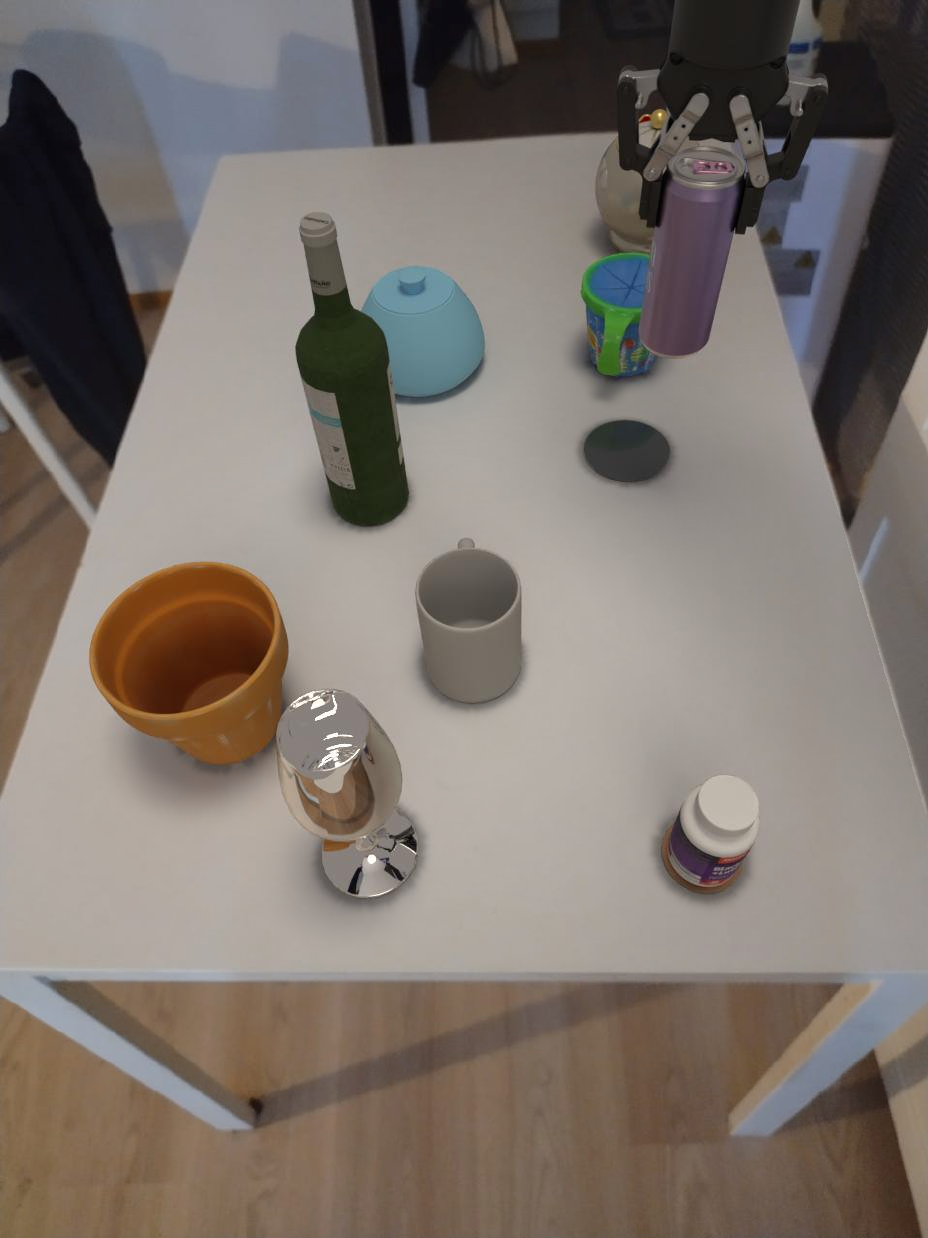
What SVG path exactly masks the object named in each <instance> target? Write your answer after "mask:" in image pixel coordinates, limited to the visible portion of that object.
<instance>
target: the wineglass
mask: <svg viewBox="0 0 928 1238" xmlns="http://www.w3.org/2000/svg"><path fill="white" fill-rule="evenodd" d="M275 737H276V762H277V763H276V765H277V776H278V782H279V786H280V791H281V794H282V797H283V799H284V803H285V805H286V807H287V809H288V812H290V815H291V816H292V817H293V818H294V820H295V821H297V823H298V824H299V825H300V826H301V828H303V829H304V830H305V831H307V832H308V833H309V834H310V835H313V836H315V837H317V838H319V839H322V840H323V841H322V846H321V863H322V867H323V871H324V872H325V875H326V876H327V878H328V880H329V881H330V882H331V884H333V885H334V887H335V888H336V889H338V890H339V891H341V892H342V893H344V894H346V895H348V896H350V897H354V898H360V899H372V898H377V897H382V896H384V895H386V894H389V893H391V892H393V891H395V890H396V889H398V888H399V887H400V886H401V885H402V884H403V883H405V882H406V880H407V879H408V878H409V876H410V875H411V874H412V872H413V871H414V868H415V866H416V864H417V860H418V857H419V847H420V846H419V838H418V833H417V831H416V828H415V826H414V825H413V823H412V821H411V819H410V818H409V817H408V816H407V815H406V814H405V813H404V812H402V811H401V810H400V809H398V808H396V807H397V805H398V804H399V802H400V798H401V794H402V792H403V791H402V790H403V771H402V765H401V761H400V758H399V756H398V753H397V750H396V747H395V745H394V744H393V742H392V741H391V738H390V737H389V735H388V734H387V733H386V731H385V729H384V728H383V727H382V725H381V724H380V723H379V721H378V720H377V719H376V717H374V716H373V714H372V713H371V712H370V710H368V708H366V706H365V705H364V704H363V703H362V702H361V701H360V700H359V699H358V698H357V697H356V696H355V695H352V694H351V693H349V692H347V691H344V690H340V689H336V688H321V689H316V690H312V691H309V692H306V693H305V694H303V695H301V696H298V698H296V699H294V700H293V701H292V702H291V703H290V704H289V705H288V706H287V708H285V710H284V712H283V713H282V714H281V718H280V721H279V723H278V727H277V731H276V733H275Z"/></svg>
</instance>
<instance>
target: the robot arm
mask: <svg viewBox="0 0 928 1238" xmlns="http://www.w3.org/2000/svg"><path fill="white" fill-rule="evenodd" d="M800 3H801V0H674V5H673V13H672V20H671V29H670V36H669V44H668V51H667V54H666V56H665V58H664V60H663V61H662V62H661V64H660V66H659V68H655V69H647V70H638V69H637V68H636V67H635V66H634V65H632V64H627V65H625V66H623V67H622V69H621V70H620V74H619V78H618V81H617V85H616V86H617V87H616V114H617V115H616V116H617V137H618V144H619V165H620V167H621V168H622V169H623V170H625V171H630V170H634V171H636V172H638V173H639V174H640V175H641V177H642V189H641V197H640V205H639V216H640V219H641V220H647V224H646V228H655V225H656V218H657V211H658V204H659V197H660V190H661V183H662V176H663V170H664V169H665V167H666V166H667V164H668V162H669V161H670V159H671V158H672V157H673V156H675V154H676V153H677V152H678V150H679V149H680V147H681V145H682V144H683V142H684V141H685V139H686V138H687V136H688V137H689V140H691V141H697V142H702V141H706V140H711V139H712V140H715V141H719V142H721V143H731V144H735V143H736V140H738V142H739V146H740V149H741V152H742V153H741V154H742V157H743V161H744V162H745V165H746V169H747V171H745V174H744V176H745V187H744V191H743V196H742V200H741V204H740V209H739V213H738V217H737V221H736V226H735V230H734V235H740V236H741V235H743V236H744V235H746V230H747V228H754V227H755V225H756V224H757V222H758V219H759V215H760V211H761V207H762V203H763V198H764V196H765V192H766V191H765V190H766V188H767V186H768V185H769V184H770V183H772V182H773V181H776V180H780V179H781V180H783V181H787V182H788V181H792V180H793V179H795V178H796V176H797V175H798V173H799V170H800V168H801V166H802V163H803V161H804V159H805V156H806V153H807V152H808V149H809V147H810V144H811V142H812V140H813V137H814V134H815V133H816V130H817V127H818V125H819V123H820V120H821V118H822V115H823V113H824V111H825V110H826V109H825V108H826V106H827V104H828V102H829V84H828V78H827V76H826V75H825V74H824V73H822V72H817V73H814V74H813V75H811V77H805V76H801V75H795V74H790V69H789V67H788V62H787V60H788V55H789V51H790V46H791V42H792V38H793V33H794V29H795V25H796V21H797V17H798V13H799V8H800ZM654 91H657V92H658V94H659V95H660V97H661V100H662V101H663V103H664V105H665V108H666V109H667V111H668V113H669V114H668V117H667V119H666V120H665V122H664V124H663V126H662V129H661V131H660V133H659V134H658V136H657V138H656V139H655V141H654V142H653V144H652V146H651V147H650V148H648V147H646V146H644V145H641V144H639V119H640V117H639V115H640V114H639V112H640V110H642V109H645V107H646V106H647V105H648V103H649V97H650V95H651V94H652V93H653V92H654ZM784 97H787V98H788V99H789V112H790V114H791V116H792V117H793V118H792V121H791V124H790V127H789V128H788V132H787V134H786V137H785V139H784V142H783V144H782V146H781V149H780V151H776V152H773V153H770V154H769V152H768V148H767V144H766V140H765V136H764V130H763V125H762V120H763V119H764V118H765V117H766V116H767V115H768V113H770V112H771V110H773V109H774V107H775V106H776V105H777V104H778V103H779V102H780V101H782V99H783V98H784Z"/></svg>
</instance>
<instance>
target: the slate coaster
mask: <svg viewBox="0 0 928 1238" xmlns="http://www.w3.org/2000/svg"><path fill="white" fill-rule="evenodd" d="M583 456H584V459H585V461H586V463H587V465H588V466H589V467H590V468H591V469H592V470H593V471H594V472H595V473H597V474H599V475H600V476H602V477H604V478H606V479H609V480H612V481H616V482H624V483H637V482H641V481H645V480H648V479H651V478H653V477H656V476H657V475H658V474H660V473H661V472H662V471H663V470H664V469H666V466H667V465H668V463H669V461H670V458H671V457H670V456H671V448H670V443H669V441H668V440H667V438H666V437H665V436H664V434H663V433H662V432H661V431H660V430H659V429H657V428H655V427H653V426H652V425H649V424H647V423H644V422H642V421H637V420H633V419H632V420H629V419H620V420H619V419H618V420H613V421H608V422H605V423H603V424H600V425H599V426H597V427H595V428H593V430H591V431H590V432H589V434H588V435H587V436H586V438H585V440H584V443H583Z"/></svg>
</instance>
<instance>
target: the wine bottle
mask: <svg viewBox="0 0 928 1238" xmlns="http://www.w3.org/2000/svg"><path fill="white" fill-rule="evenodd" d="M337 230H338V229H337V226H336V222H335V220H333V217H332V216H331V215H330V214H329V213H327V212H323V211H314V212H310V213H307V214H305V215H303V216H302V217H301V218H300V221H299V227H298V231H299V237H300V241H301V243H302V244H303V249H304V255H305V261H306V267H307V272H308V278H309V284H310V289H311V295H312V302H313V307H314V313H313V315H312V316H311V317H310V318H309V319H308V321H307V322H305V324H304V325H303V326H302V328H301V329H300V331H299V333H298V337H297V338H296V343H295V346H294V351H295V358H296V359H295V360H296V364H297V369H298V372H299V375H300V380H301V385H302V387H303V392H304V395H305V401H306V404H307V407H308V411H309V415H310V419H311V423H312V427H313V430H314V435H315V438H316V439H315V440H316V443H317V447H318V450H319V454H320V459H321V462H322V466H323V471H324V475H325V478H326V483H327V486H328V490H329V494H330V498H331V502H332V506H333V509H334V510H335V511H336V513H337V514H338V516H339V517H340V518H342V519H344V520H345V521H346V522H348V523H351V524H354V525H357V526H369V527H370V526H377V525H382V524H384V523H387V522H389V521H391V520H393V519H394V518H395V517H397V516H398V515H399V514H401V513H402V512H403V509H404V508H405V507H406V505H407V504H408V499H409V495H410V492H409V491H410V490H409V484H408V477H407V471H406V469H407V468H406V463H405V456H404V450H403V449H404V448H403V444H402V443H403V442H402V436H401V429H400V421H399V415H398V409H397V402H396V401H397V400H396V394H394V387H393V380H392V373H391V366H390V359H389V353H388V346H387V342H386V338H385V335H384V332H383V330H382V329H381V328H380V327H379V326H378V324H377V323H376V322H375V321H374V320H373V318H371V317H370V316H368V315H366V314H364V313H363V312H361V310H359V309H357V308H354V306H353V304H352V302H351V298H350V297H351V296H350V293H349V289H348V284H347V280H346V275H345V270H344V266H343V261H342V256H341V252H340V247H339V242H338V239H337V238H338V231H337Z"/></svg>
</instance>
